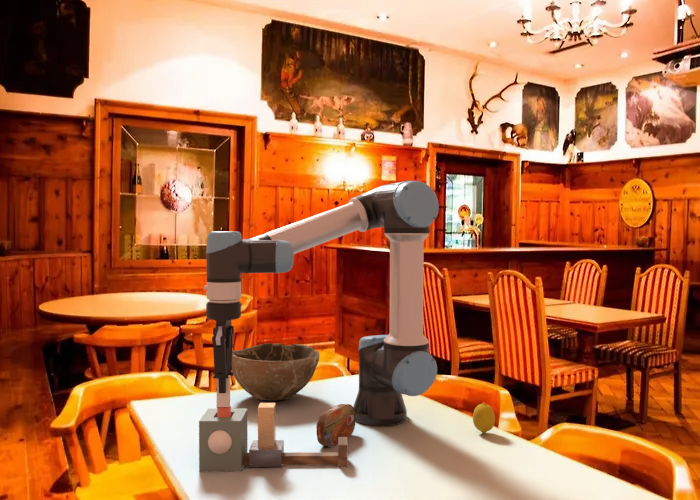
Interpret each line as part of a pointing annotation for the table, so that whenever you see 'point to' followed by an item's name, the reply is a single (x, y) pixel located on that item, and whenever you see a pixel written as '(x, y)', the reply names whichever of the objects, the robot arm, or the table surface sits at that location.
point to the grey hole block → (222, 441)
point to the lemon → (483, 418)
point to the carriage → (266, 439)
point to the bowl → (274, 369)
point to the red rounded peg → (224, 411)
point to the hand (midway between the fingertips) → (223, 406)
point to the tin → (335, 424)
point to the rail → (315, 457)
